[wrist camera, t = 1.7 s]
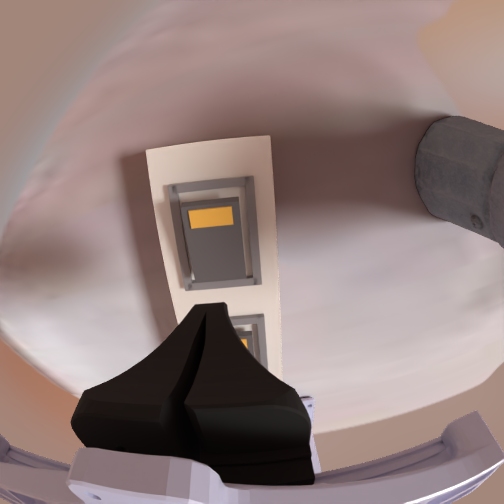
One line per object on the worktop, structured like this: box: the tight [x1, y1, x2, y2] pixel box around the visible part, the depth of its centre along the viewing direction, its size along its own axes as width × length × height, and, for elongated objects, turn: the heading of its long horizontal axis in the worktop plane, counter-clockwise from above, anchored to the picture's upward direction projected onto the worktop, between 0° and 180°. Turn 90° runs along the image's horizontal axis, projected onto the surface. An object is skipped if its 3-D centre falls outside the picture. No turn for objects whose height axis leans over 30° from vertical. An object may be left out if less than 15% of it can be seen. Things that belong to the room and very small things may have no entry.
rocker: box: [180, 197, 247, 283], centre depth 17 cm, size 5×3×1 cm, turn 4°
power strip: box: [146, 135, 283, 381], centre depth 21 cm, size 20×7×3 cm, turn 5°
